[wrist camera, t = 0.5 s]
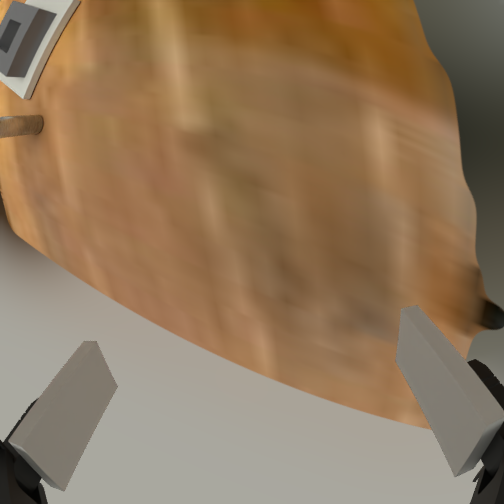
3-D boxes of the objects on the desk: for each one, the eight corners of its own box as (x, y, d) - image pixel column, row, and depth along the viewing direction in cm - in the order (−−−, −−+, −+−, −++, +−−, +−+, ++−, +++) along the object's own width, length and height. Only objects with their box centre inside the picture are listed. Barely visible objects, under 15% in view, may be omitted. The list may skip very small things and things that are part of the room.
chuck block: (39, -10, 25) (18, -16, 20) (80, 1, 26) (56, -8, 21) (-3, 73, 32) (-24, 72, 27) (29, 99, 32) (3, 99, 27)
